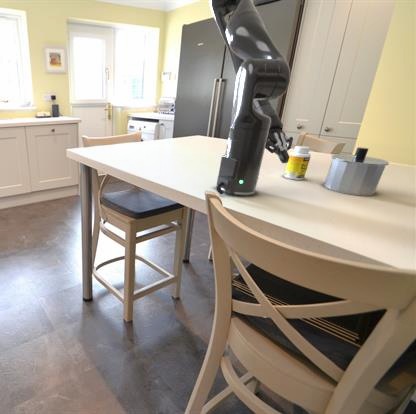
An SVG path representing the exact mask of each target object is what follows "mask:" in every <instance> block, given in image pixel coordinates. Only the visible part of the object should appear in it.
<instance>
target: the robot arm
mask: <svg viewBox="0 0 416 414" xmlns="http://www.w3.org/2000/svg"><path fill="white" fill-rule="evenodd" d="M208 3H209V8H210V10H211V14H212V16H213V18H214V20H215V23H216V25H217V29H218V31H219V33H220V35H221V38H222V39H223V41H224V44H225V47H226V48H227V51H228V53H229V57H230V61H231V63H232V66H233V70H234V73H235V74H236V78H235V85H234V91H233V100H232V108H231V117H230V118H231V120H230V127H229V132H228V137H227V143H226V148H225V153H224V154H222V156H221V159H220V164H219V169H218V176H217V178H216V179H217V180H216V189H215V190H216V192H217V193H218V194H219V195H223V194H224V193H226V194H228V195H231V196H232V195H234V196H252V195H255V194H256V190H257V185H258V180H259V176H260V172H261V167H262V163H263V159H264V154H265V149H266V150H267V151H268V152H270V153H271V154H275V155H277V157H278V159H279V161H280V163H281V164H288V161H289V157H290V154H289V153H288V152H289V150H290V149H292V145H293V141H294V137H293V136H289V137H288V136H286V133H285V132H284V131H283V128H284V123H283V122H282V120H281V118H280V116H279V113H278V112H277V110H276V109H275V107H274V105H273V104H272V102H271V100H276V99H279V98H280V97H282V96H284V94H285V93H286V92H287V90H288V89H289V87H290V83H291V69H290V64H289V62H288V60H287V59H286V58H285V56H284V55H283V54H282V53H281V51H280V50H279V49H278V48H277V46H276V45H275V43H274V42H273V39H272V37H271V36H270V34H269V32H268V31H267V29H266V25H265V23H264V21H263V19H262V17H261V15H260V13H259V12H258V11H259V10H258V9H257V7H256V6H255V3H254V2H253V0H208ZM229 15H230V17H229V19H228V21H227V19H226V18H227V17H228V16H229Z"/></svg>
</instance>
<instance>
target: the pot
mask: <svg viewBox="0 0 416 414" xmlns="http://www.w3.org/2000/svg"><path fill="white" fill-rule="evenodd" d="M385 169H386V166H371V165H360V164H353V163H347V162H342V161H338V160H335V159H332V158H331V162H330V165H329V169H328V171H327V174H326V178H325V181H324V187H325V188H326V189H329V190H330V191H333V192H334V191H335V192H338V193H342V194H345V195H353V196H360V197H361V196H362V197H365V196H373V195H374V194H375V192H376V191H377V188H378V186H379V183H380V181H381V178H382V177H383V174H384V170H385Z"/></svg>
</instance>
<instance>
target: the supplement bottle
mask: <svg viewBox="0 0 416 414" xmlns="http://www.w3.org/2000/svg"><path fill="white" fill-rule="evenodd" d="M310 149H311V147H310V146H305V145H295V146H294V150H293V151H291V152H290V154H289V161H288V163H286V164H287V165H286V168H285V171H284V177H285V178H286V179H289V180H295V181H302V180H304V179H305V177H306V173H307V170H308V166H309V163H310V160H311V155H312V154H310Z"/></svg>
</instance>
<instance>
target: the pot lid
mask: <svg viewBox="0 0 416 414" xmlns="http://www.w3.org/2000/svg"><path fill="white" fill-rule="evenodd" d="M368 152H369V148H368V147H361V146H360V147H356V150H355V153H354V154H343V153H342V154H341V153H339V154H332V155H331V160H332V159H335V160H338V161H342V162H347V163H353V164H360V165H371V166H385V167H386V166H389V164H390V162H389V161H388V160H384V159H381V158H377V157H372V156H367V154H368Z"/></svg>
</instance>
